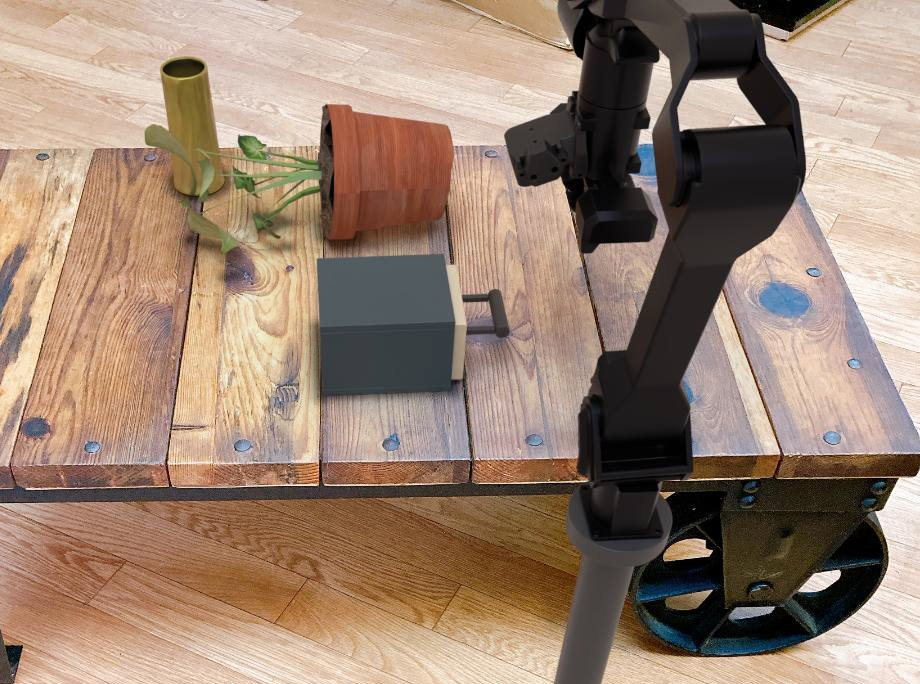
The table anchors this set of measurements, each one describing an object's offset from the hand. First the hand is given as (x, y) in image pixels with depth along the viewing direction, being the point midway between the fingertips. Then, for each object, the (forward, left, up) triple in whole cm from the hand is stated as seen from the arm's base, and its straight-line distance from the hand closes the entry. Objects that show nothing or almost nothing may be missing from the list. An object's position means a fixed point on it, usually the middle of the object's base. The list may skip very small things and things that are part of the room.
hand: (585, 251), depth 104 cm
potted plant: (+22, +28, -12) cm, 38 cm away
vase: (+33, +39, -12) cm, 53 cm away
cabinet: (0, +19, -12) cm, 22 cm away
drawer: (0, +15, -11) cm, 19 cm away
